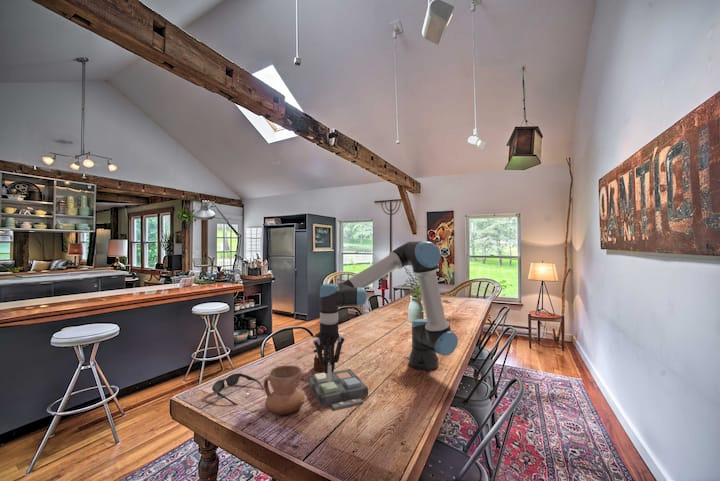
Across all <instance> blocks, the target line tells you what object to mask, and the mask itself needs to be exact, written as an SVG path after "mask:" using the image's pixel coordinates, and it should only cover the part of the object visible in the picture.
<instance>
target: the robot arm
mask: <svg viewBox="0 0 720 481" xmlns="http://www.w3.org/2000/svg"><path fill="white" fill-rule="evenodd" d="M441 258H442V255H441V250H440V248H439V247H438V245H436V244H435V243H434V242H431V241H427V240H421V241H407V242H405V243H403V244H402V245H399V246H398V247H396V248H395V249H393V250H391V251H390V252H389V254H388V255H387V256H385V257H384V258H382V259H380V260H378V261H376V262H375V263H374V264H371V265H370V266H369V267H367V268H365V269H363V270H362V271H360V272H359V273H356V274H355V275H353V276H352V277H350V278H348V279H347V280H344V281H343V282H337V283H323V284H321V285H320V289H319V290H320V291H319V322H320V323H319V332H320V334H319V337H318V338H316V339H314V340H313V341H312V343H313V345H314V346H315V350H317V352H316V355H317V358H318V359H319V362H320V364H321V365H324V373H325V374H326V380H327V382H331V374H332V372H335V369H334V365H335V366H336V363H339V361H340V360H339V359H340V356H341V351H342V346H343V344H344V342H345V338H344V337H343V336H341V335H340V334H339V308H340V307H341V308H342V307H354V306H355V307H358V306H364V305H365V304H366V302H367V296H368V295H367V292H366V289H365V288H367V287H369V286H371V285H372V284H374V283H375V282H376V281H379V280H380V279H382V278H384V277H385V276H387V275H388V274H390V273H391V272H394V271H395V270H396V269H398V270H400V269H403V268H404V267H406V266H412V271H413V273H414V274H415V275H417V280H418V284H419V289H420V294H421V299H422V304H423V309H424V313H425V318H418V319H414V320H413V321H412V322H411V351H410V353H409V357H408V365H409V366H410V367H411V368H413V369H416V370H421V371H431V370H436V369H438V368H439V363H440V362H439V359H438V355H440V356H444V357H447V356H450V355H452V354H453V353H454V352H455V351H456V348H457V346H458V343H459V340H458V339H459V338H458V336H457V335H456V333H455V332H454V331H452V329H451V325H450V324H451V323H450V322H449V321H447V320H446V316H445V312H444V306H443V301H442V296H441V292H440V291H441V290H440V287H439V280H438V277H437V271H438V269H439V264H440V263H441V262H440V261H441ZM320 341H321V342H322V344H323V347H324V350H323V352H322V353H321V349H320V346H319V344H320ZM335 344H336V346H335ZM329 346H330V363H328V348H329ZM335 347H336V348H335ZM323 353H324V355H322V354H323ZM437 354H438V355H437ZM322 357H323V358H322ZM334 363H335V364H334Z"/></svg>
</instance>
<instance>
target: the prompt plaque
mask: <svg viewBox="0 0 720 481" xmlns="http://www.w3.org/2000/svg"><path fill="white" fill-rule="evenodd" d="M360 404H364V401H363V399H362V398H355V399H351V400H346V401H342V402H338V403H333V404H331V405H330V406H331V409H332V410H333V411H336V410H340V409H343V408H347V407H351V406H357V405H360Z"/></svg>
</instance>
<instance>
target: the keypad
mask: <svg viewBox="0 0 720 481" xmlns="http://www.w3.org/2000/svg"><path fill="white" fill-rule="evenodd" d="M343 372H348V373H349V374H350V375H351V376H352V377H348V378H343V379H339V378H338V376H337V375H336V374H338V373H343ZM307 377H308V378H307V379H308V381H307V383H308V387H309V388H310V391H312V394H313V395H314V397H315V400H316V401H317V403H318V405H319V407H320V408H322V407H326V406H331V404H333V403H338V402H342V401H346V400H351V399H355V398H361V399H362V398H366V397H369V387H368V386H367V385H366V384H365V383H364V382H363V381H362V380H361V379H360V378H359V376H357V375H356V374H355V372H354V371H353V370H352V369H351V368H347V369H342V370H336V371H333V372H332V374H331V382H334V383H335V384H336V386H337V387H338V392H333V393H328V394H323V392H322V390H321V384H323V383H329V382H322V383H317V382H316V380H315V374H313V375H309V376H307ZM354 377H356V378H357V379H358V380H359V381H360V383H361V387H357V388H352V389H347V388H346V386H345V385H344V379H349V378H354Z"/></svg>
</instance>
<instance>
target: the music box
mask: <svg viewBox="0 0 720 481" xmlns="http://www.w3.org/2000/svg"><path fill="white" fill-rule="evenodd" d="M319 334H320V331H319V332H317V333H315V334H314V335H311V338H312V339H314V338H315V339H318V337H319ZM319 346H320V349H321V353H322V358H324V352H323V351H324V347H323V344H322V342H321V341H320V344H319ZM313 353H314V354H315V356H314V358H313V361H314V362H313V370H314V372H316V373H318V374H319V373H324V365H321V364H320V362H319V359H318V354H317V350H316V349H313ZM328 363H330V346H329V348H328ZM334 364H335V365H334V370H335V369H336V363H334Z"/></svg>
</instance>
